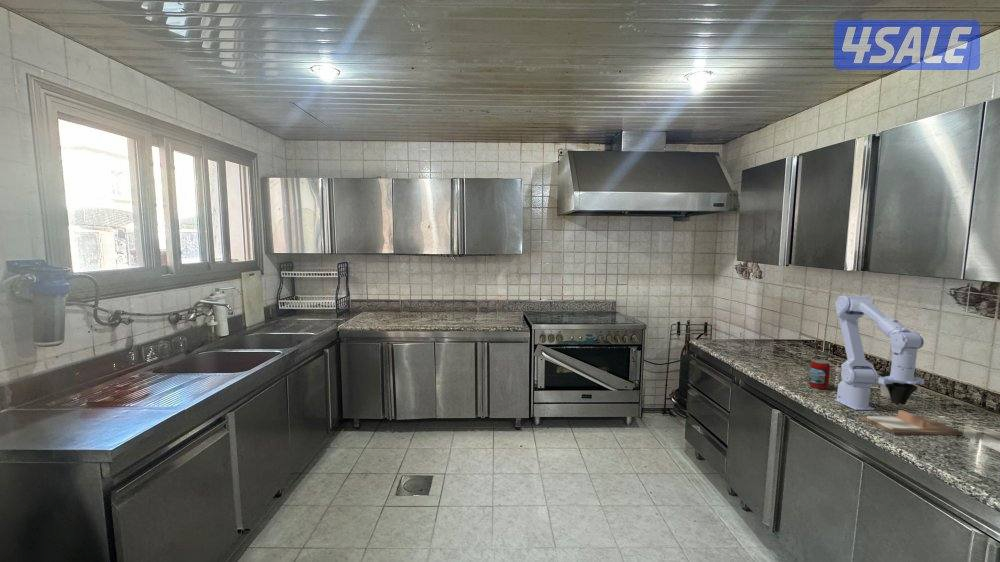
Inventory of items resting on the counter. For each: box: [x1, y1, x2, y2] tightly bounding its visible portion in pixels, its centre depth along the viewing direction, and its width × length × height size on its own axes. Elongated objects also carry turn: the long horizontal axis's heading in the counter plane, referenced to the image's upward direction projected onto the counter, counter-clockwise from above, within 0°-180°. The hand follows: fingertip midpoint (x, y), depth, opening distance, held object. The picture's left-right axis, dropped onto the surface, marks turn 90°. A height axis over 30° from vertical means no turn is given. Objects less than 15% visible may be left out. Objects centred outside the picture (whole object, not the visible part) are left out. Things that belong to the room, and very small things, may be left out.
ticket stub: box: [895, 409, 940, 430], centre depth 138 cm, size 9×6×3 cm, turn 2°
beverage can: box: [808, 359, 831, 390], centre depth 175 cm, size 7×7×12 cm
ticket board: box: [859, 415, 963, 436], centre depth 138 cm, size 12×24×2 cm, turn 92°
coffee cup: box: [878, 371, 891, 399], centre depth 165 cm, size 7×7×10 cm
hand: (898, 403), depth 137 cm, fingers closed
